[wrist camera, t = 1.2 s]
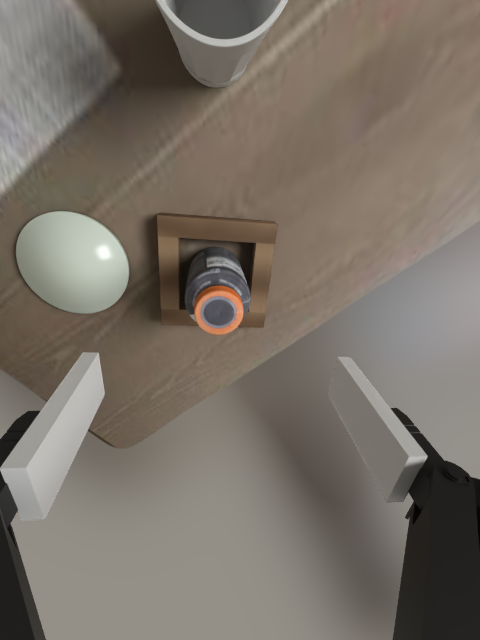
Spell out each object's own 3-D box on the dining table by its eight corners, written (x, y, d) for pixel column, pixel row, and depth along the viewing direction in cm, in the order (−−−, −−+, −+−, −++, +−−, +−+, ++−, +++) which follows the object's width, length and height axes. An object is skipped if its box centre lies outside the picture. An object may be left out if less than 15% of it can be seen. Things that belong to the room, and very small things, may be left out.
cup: (226, 120, 27) (238, 85, 16) (148, 51, 24) (99, -47, 13) (281, 28, 24) (338, -87, 13) (200, -61, 21) (191, -293, 11)
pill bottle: (206, 304, 35) (205, 357, 25) (179, 262, 32) (165, 302, 22) (250, 280, 34) (267, 325, 24) (225, 235, 31) (233, 265, 21)
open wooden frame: (159, 212, 30) (156, 215, 28) (273, 221, 31) (277, 224, 29) (163, 317, 35) (161, 324, 33) (260, 320, 36) (263, 327, 35)
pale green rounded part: (7, 206, 28) (2, 207, 27) (125, 215, 29) (123, 216, 29) (34, 308, 33) (30, 311, 32) (133, 312, 34) (132, 315, 34)
